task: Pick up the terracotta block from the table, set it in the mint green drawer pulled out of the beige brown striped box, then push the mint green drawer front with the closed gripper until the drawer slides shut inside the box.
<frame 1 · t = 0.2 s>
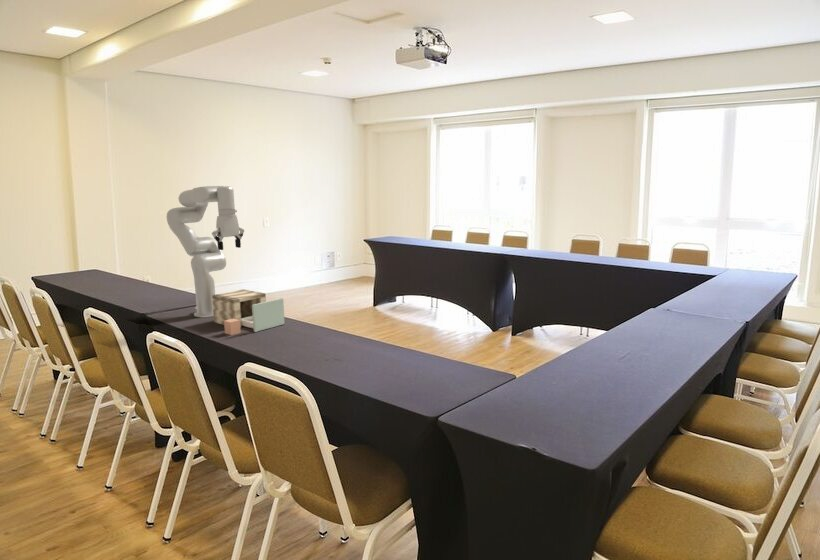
hand: (229, 248, 275), 36 cm above the table, fingers open, 9 cm apart
beige brown striped box: (240, 321, 283), on the table
block: (232, 333, 263), on the table
mint green drawer: (257, 312, 273), point 7 cm above the table, slide at 12.5 cm
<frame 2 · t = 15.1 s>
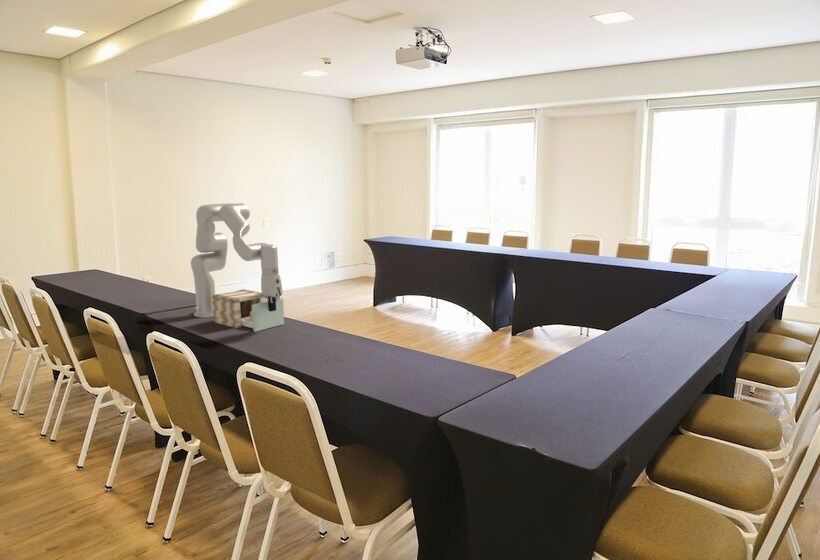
hand: (272, 310, 266), 9 cm above the table, fingers closed
block: (258, 323, 274), point 1 cm above the table, touching mint green drawer
mint green drawer: (257, 312, 273), point 7 cm above the table, slide at 12.3 cm, touching block, gripper
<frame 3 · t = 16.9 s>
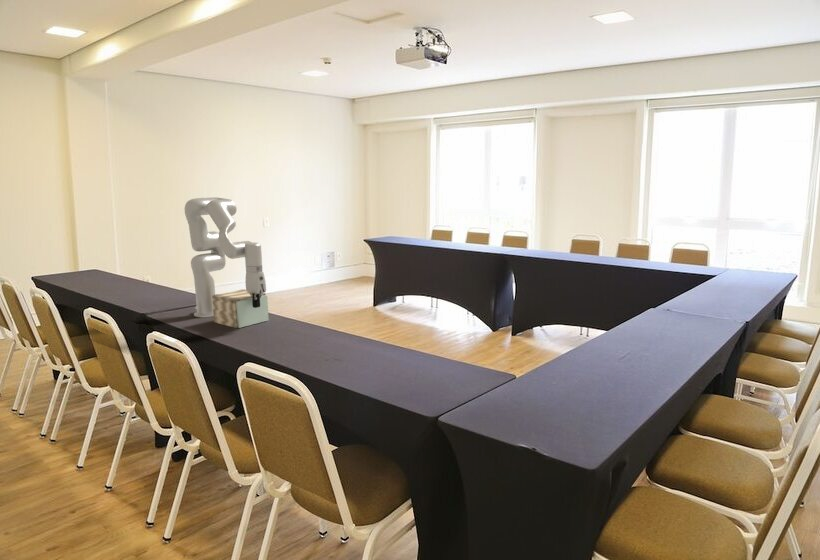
hand: (256, 307, 273), 9 cm above the table, fingers closed
block: (243, 320, 281), point 1 cm above the table, touching mint green drawer
mint green drawer: (242, 308, 281), point 7 cm above the table, slide at 0.5 cm, touching block, gripper
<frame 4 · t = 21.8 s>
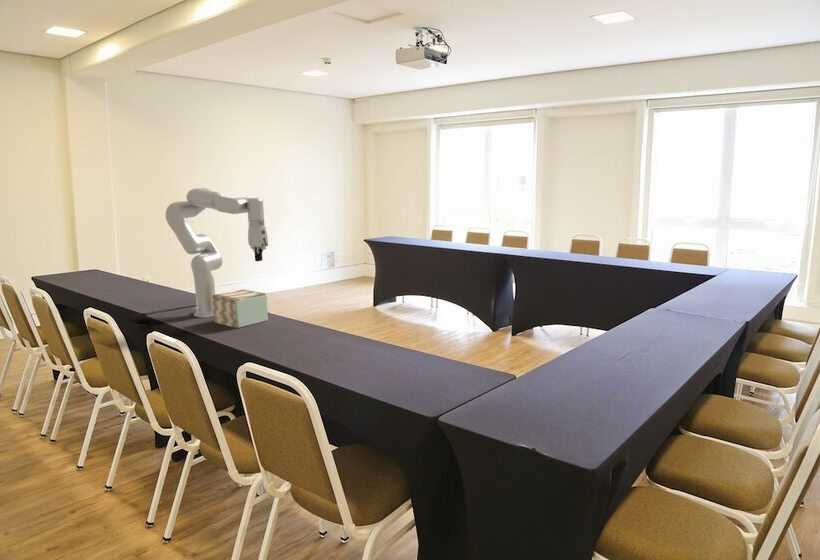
hand: (258, 260, 283), 29 cm above the table, fingers closed
mint green drawer: (241, 308, 281), point 7 cm above the table, slide at 0.0 cm, touching block
everything else where it was.
at the end: mint green drawer slide at 0.0 cm; block inside the target area on the beige brown striped box (1.5 cm from its centre), point 1.0 cm above the beige brown striped box's base; block tilted 0° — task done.
